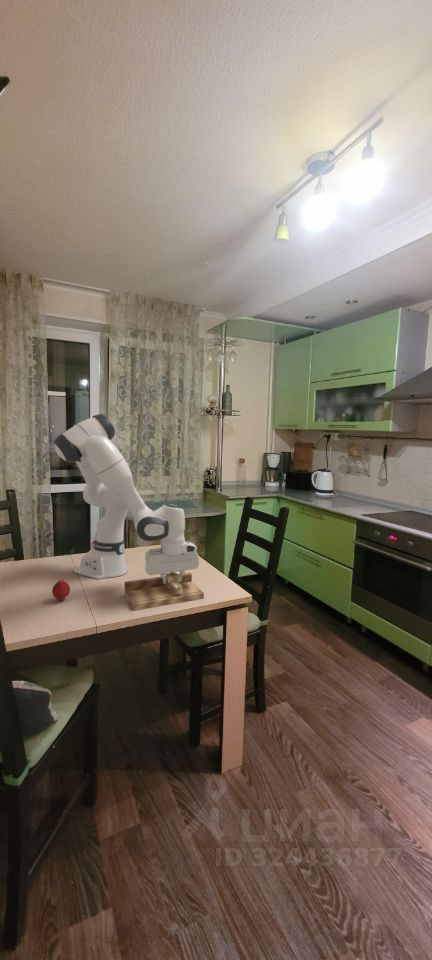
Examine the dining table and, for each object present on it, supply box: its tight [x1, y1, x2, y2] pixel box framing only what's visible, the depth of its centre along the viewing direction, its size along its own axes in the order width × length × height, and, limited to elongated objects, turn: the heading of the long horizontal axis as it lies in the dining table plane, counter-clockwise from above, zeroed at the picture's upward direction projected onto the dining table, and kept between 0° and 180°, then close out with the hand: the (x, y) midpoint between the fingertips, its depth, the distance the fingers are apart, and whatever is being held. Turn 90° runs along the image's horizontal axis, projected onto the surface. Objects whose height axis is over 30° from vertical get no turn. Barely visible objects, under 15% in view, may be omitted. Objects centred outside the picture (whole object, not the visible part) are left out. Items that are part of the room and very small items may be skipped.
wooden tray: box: [124, 572, 205, 611], centre depth 141 cm, size 26×14×5 cm, turn 116°
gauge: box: [165, 572, 183, 594], centre depth 141 cm, size 4×10×5 cm, turn 25°
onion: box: [51, 578, 71, 601], centre depth 135 cm, size 6×6×8 cm
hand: (172, 582), depth 144 cm, fingers closed on gauge, 4 cm apart
